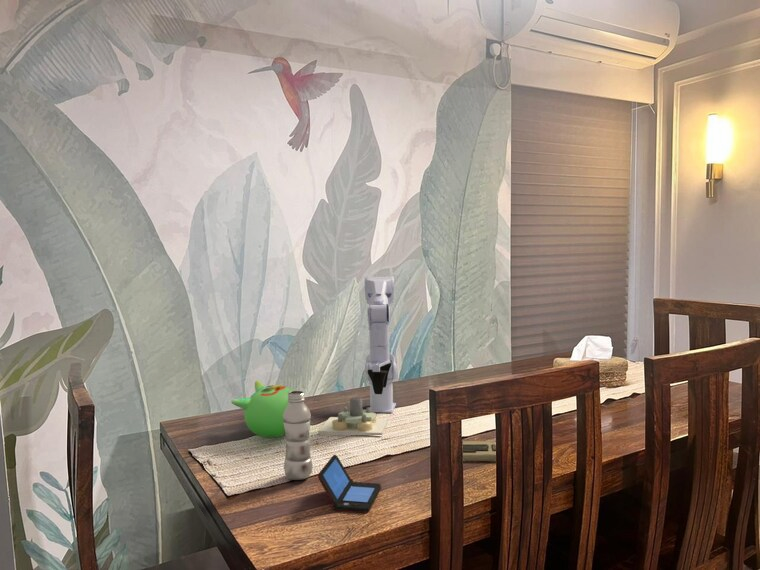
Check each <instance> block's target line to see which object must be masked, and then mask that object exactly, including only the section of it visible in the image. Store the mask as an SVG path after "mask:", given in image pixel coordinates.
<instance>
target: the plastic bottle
mask: <svg viewBox="0 0 760 570" xmlns="http://www.w3.org/2000/svg"><path fill="white" fill-rule="evenodd" d="M288 402H289V404H288V406H287V407H286V409H285V411H284V413H283V423H284V428H285V435H284V436H285V455H284V456H285V459H284V463H283V471H284V474H285V476H286V478H288V479H289V480H293V481H300V480H301V481H302V480H305V479H308V478H309V477H310V476H311V474H312V472H313V466H314V465H313V461H312V456H311V448H310V429H311V421H312V420H311V419H312V414H311V410H310V409H309V407H308V406H307V405H306V403H305V391H303V390H294V391H291V392H288Z"/></svg>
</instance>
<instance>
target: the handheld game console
mask: <svg viewBox="0 0 760 570" xmlns="http://www.w3.org/2000/svg"><path fill="white" fill-rule="evenodd" d="M317 478H318V480H319V482H320V484H321V485H322V487H323V489H324V491H325V493H326V495H327V496H328V497H329V499H330V501H331V502H332V504H333V511H340V512H351V513H352V512H353V513H361V514H362V513H369V512H370V511H371V509H372V507H373V505H374V503H375V501H376V500H377V497H378V495H379V492H381V489H382V484H380V483H375V482H373V483H372V482H361V481H358V482H357V481H354V480H353V479H352V478H351V476H350V475H349V474H348V472H347V470H346V469H345V466H344V465H343V463H342V462H341V460H340V458H339V457H338V456H337V455H336V454H333V455H332V456H331V458H330V459H329V460H328V461H327V463H326V464H325V465H324V466H323V467H322V469H321V470H320V471H319V472H318V474H317Z"/></svg>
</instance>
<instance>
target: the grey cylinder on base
mask: <svg viewBox="0 0 760 570" xmlns="http://www.w3.org/2000/svg"><path fill="white" fill-rule="evenodd" d="M339 413H340V414H342V419H343V420H345V423H356V424H359V423H360V422H361V420H362V415H363V414H365V415H366V421H372V420H373V418H374V417H375V414H376V412H372V413H366V409H363V398H361V397H351V398H350V399H349V411H347V412H343V411H341V412H339Z"/></svg>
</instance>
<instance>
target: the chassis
mask: <svg viewBox="0 0 760 570" xmlns="http://www.w3.org/2000/svg"><path fill="white" fill-rule="evenodd" d="M365 410H366V413H373V412H370V406H369V407H368V406H367V407H366V409H365ZM342 412H348V407H347V406H343V407H342ZM340 413H341V412H338V414H337V416H330V417H329V418H328V419H327V420H326V421H325V423H324V424H323V426H322V427H321V428H320V429H319V431H318V435H320V436H321V435H324V436H325V435H326V436H351V435H382V434H383V435H384V433H385V431H386V429H387V427H388V424H389V422H388V421H390V420H389V417H388V418H385V417H384V418H382V417H379V418H378V417H377V413H375V417H374V418H373V420H372V421H366V415H365V414H363V415H362V420H361V422H360V423H359V424H356V423H345V420H343V419H342V414H340ZM387 423H388V424H387ZM385 428H386V429H385ZM384 430H385V431H384ZM383 432H384V433H383ZM336 434H337V435H336ZM383 435H382V436H383Z"/></svg>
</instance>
